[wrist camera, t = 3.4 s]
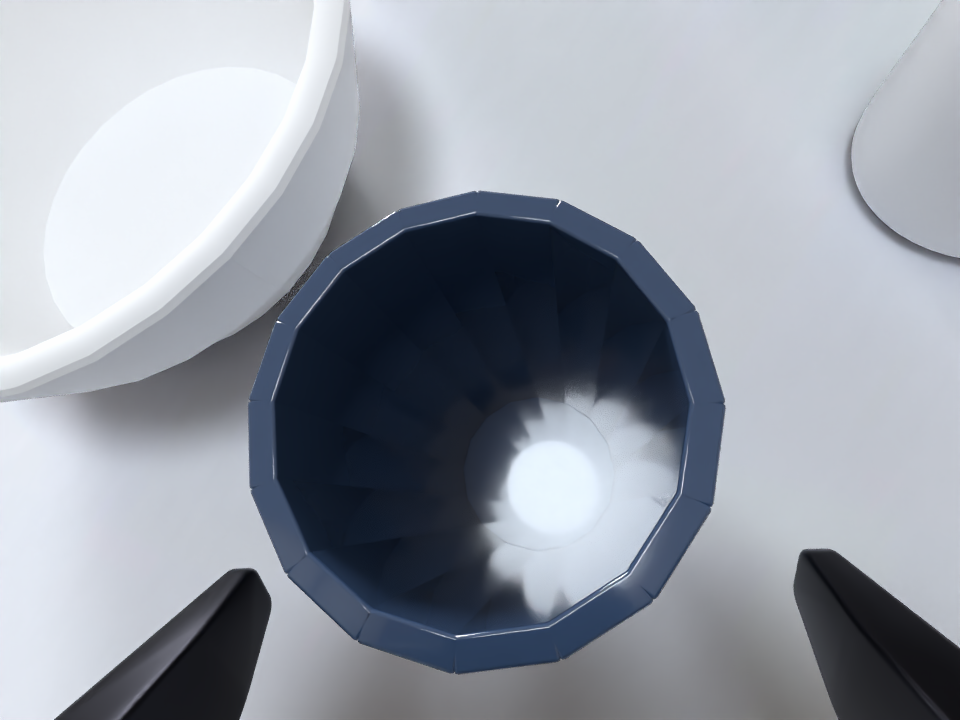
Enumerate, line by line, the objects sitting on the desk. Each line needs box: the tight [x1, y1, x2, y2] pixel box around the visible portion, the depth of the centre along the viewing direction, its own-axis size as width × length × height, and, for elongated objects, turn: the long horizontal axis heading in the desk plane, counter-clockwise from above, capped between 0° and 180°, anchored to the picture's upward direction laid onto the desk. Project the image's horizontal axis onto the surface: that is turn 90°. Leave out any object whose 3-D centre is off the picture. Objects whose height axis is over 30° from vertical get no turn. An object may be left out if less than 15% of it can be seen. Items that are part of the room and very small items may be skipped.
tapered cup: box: [248, 191, 726, 675], centre depth 13 cm, size 6×6×13 cm
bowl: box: [0, 0, 360, 402], centre depth 21 cm, size 22×22×8 cm
